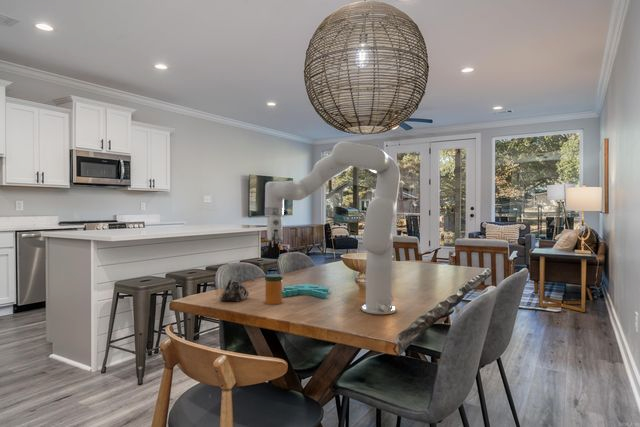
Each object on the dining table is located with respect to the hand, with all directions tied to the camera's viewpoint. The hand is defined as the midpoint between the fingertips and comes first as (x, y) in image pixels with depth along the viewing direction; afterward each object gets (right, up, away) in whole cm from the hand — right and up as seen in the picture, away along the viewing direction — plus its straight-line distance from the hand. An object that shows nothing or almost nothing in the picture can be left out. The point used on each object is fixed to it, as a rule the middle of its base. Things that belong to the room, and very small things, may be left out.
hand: (273, 256), depth 165 cm
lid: (0, -8, 0) cm, 8 cm away
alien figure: (+12, -19, +19) cm, 30 cm away
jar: (0, -19, 0) cm, 19 cm away
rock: (-17, -19, +5) cm, 26 cm away
